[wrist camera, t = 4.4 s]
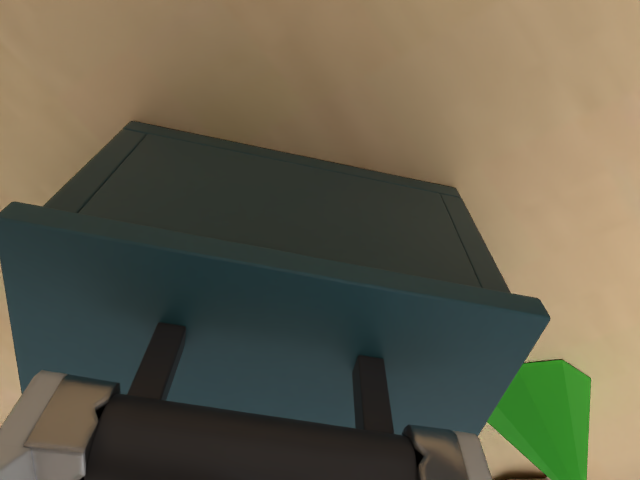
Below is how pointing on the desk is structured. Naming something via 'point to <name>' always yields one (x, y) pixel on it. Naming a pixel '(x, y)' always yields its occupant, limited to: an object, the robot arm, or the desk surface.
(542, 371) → the gemstone
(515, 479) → the mouse figurine
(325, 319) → the cooler lid
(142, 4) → the desk surface
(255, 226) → the box
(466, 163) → the desk surface
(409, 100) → the desk surface
